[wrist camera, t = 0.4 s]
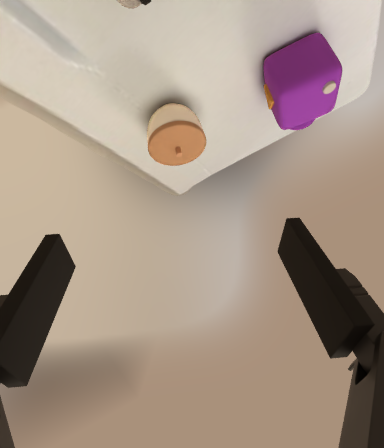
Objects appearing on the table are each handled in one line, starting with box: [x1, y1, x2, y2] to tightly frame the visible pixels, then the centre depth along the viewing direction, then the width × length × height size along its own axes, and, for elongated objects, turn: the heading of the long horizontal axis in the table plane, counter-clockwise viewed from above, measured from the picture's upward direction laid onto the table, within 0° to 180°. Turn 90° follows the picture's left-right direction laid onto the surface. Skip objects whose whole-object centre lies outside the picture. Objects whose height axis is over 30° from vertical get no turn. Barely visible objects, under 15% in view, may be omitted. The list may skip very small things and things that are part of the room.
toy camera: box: [263, 33, 342, 130], centre depth 41 cm, size 11×14×10 cm
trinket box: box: [147, 103, 206, 166], centre depth 45 cm, size 11×11×9 cm
